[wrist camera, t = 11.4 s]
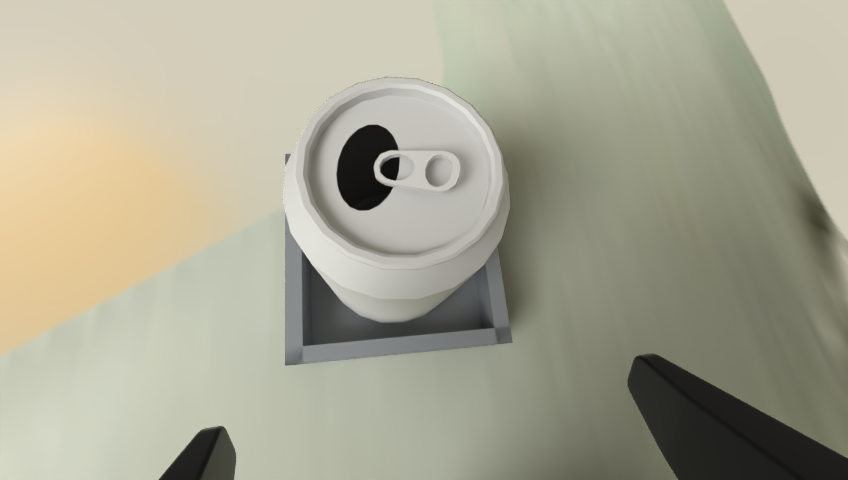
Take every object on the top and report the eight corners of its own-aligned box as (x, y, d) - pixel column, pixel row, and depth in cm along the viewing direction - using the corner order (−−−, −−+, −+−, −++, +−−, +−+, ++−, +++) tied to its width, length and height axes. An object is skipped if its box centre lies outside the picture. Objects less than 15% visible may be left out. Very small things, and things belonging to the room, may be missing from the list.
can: (342, 189, 24) (302, 32, 12) (463, 210, 24) (536, 79, 12) (313, 313, 21) (232, 265, 10) (447, 334, 22) (519, 313, 10)
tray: (496, 344, 22) (512, 342, 19) (298, 364, 21) (285, 365, 18) (471, 170, 25) (482, 146, 22) (297, 178, 24) (285, 154, 21)
